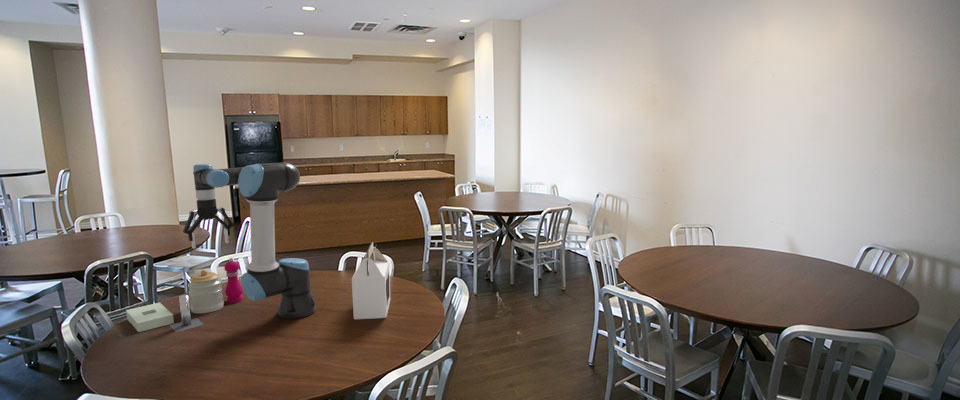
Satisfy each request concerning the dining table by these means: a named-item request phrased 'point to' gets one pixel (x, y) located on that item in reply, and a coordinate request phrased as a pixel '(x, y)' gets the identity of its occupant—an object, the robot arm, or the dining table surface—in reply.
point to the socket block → (149, 317)
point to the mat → (179, 327)
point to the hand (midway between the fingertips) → (210, 245)
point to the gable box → (371, 286)
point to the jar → (205, 292)
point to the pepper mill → (233, 282)
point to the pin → (185, 310)
